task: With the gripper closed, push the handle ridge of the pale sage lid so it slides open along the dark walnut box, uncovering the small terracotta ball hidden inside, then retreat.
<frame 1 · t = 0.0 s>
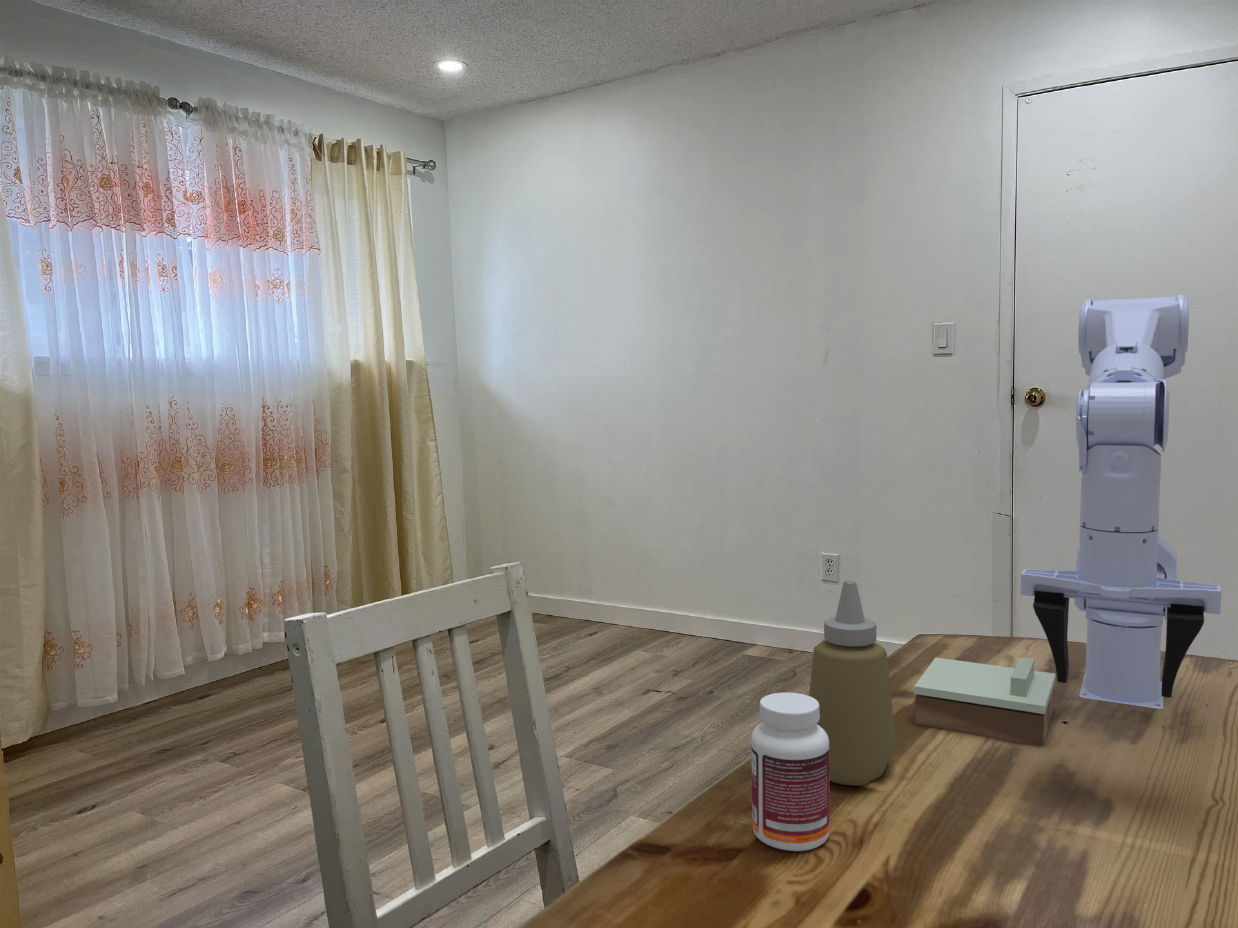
hand: (1113, 686, 77), 10 cm above the table, fingers open, 7 cm apart
walnut box: (985, 723, 95), on the table
pill bottle: (790, 836, 74), on the table
lid: (985, 675, 94), point 5 cm above the table, slide at 0.0 cm
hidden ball: (1011, 722, 94), point 1 cm above the table, touching walnut box
squeeze bottle: (849, 775, 84), on the table
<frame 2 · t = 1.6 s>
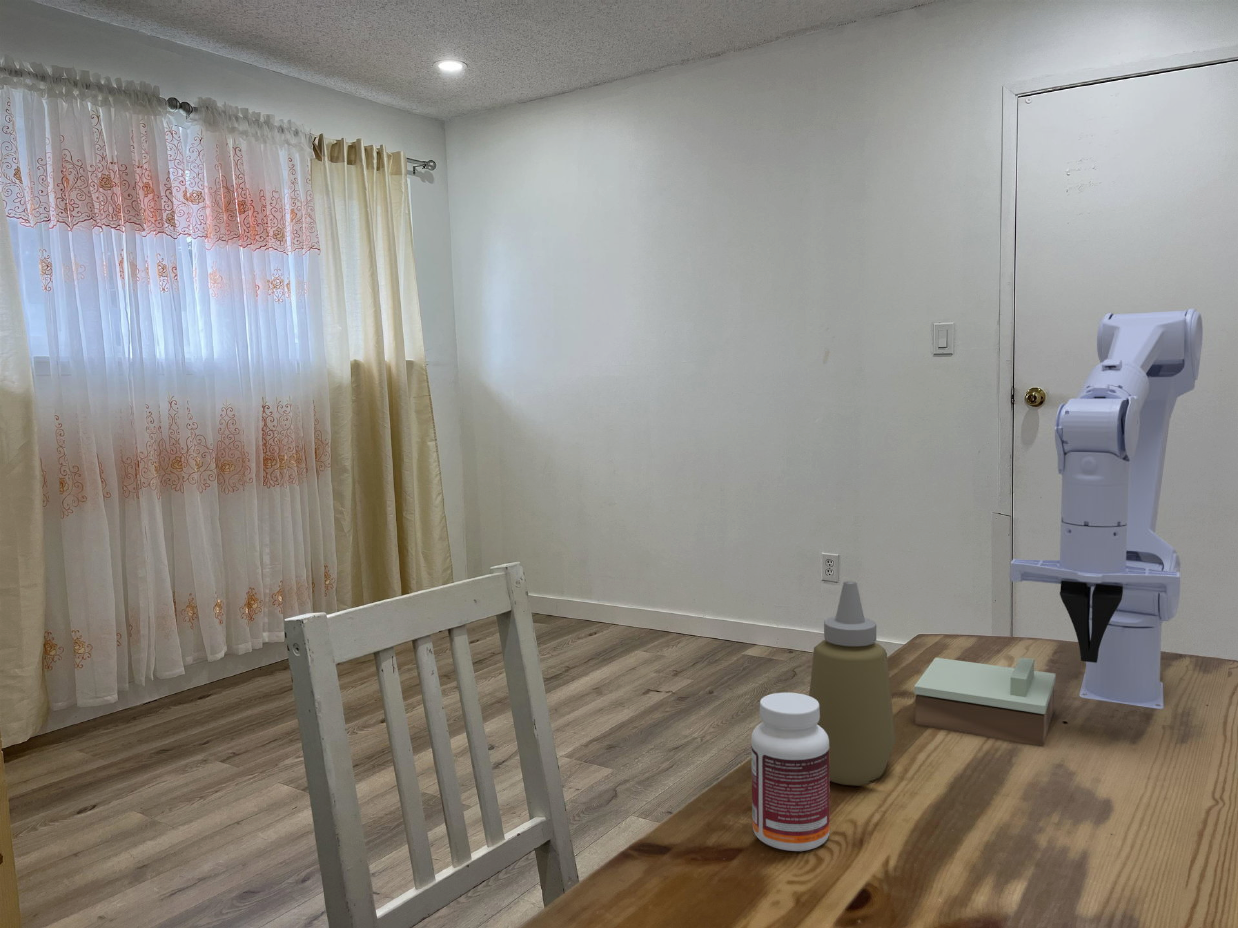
hand: (1089, 659, 89), 8 cm above the table, fingers closed
nothing on the table moved.
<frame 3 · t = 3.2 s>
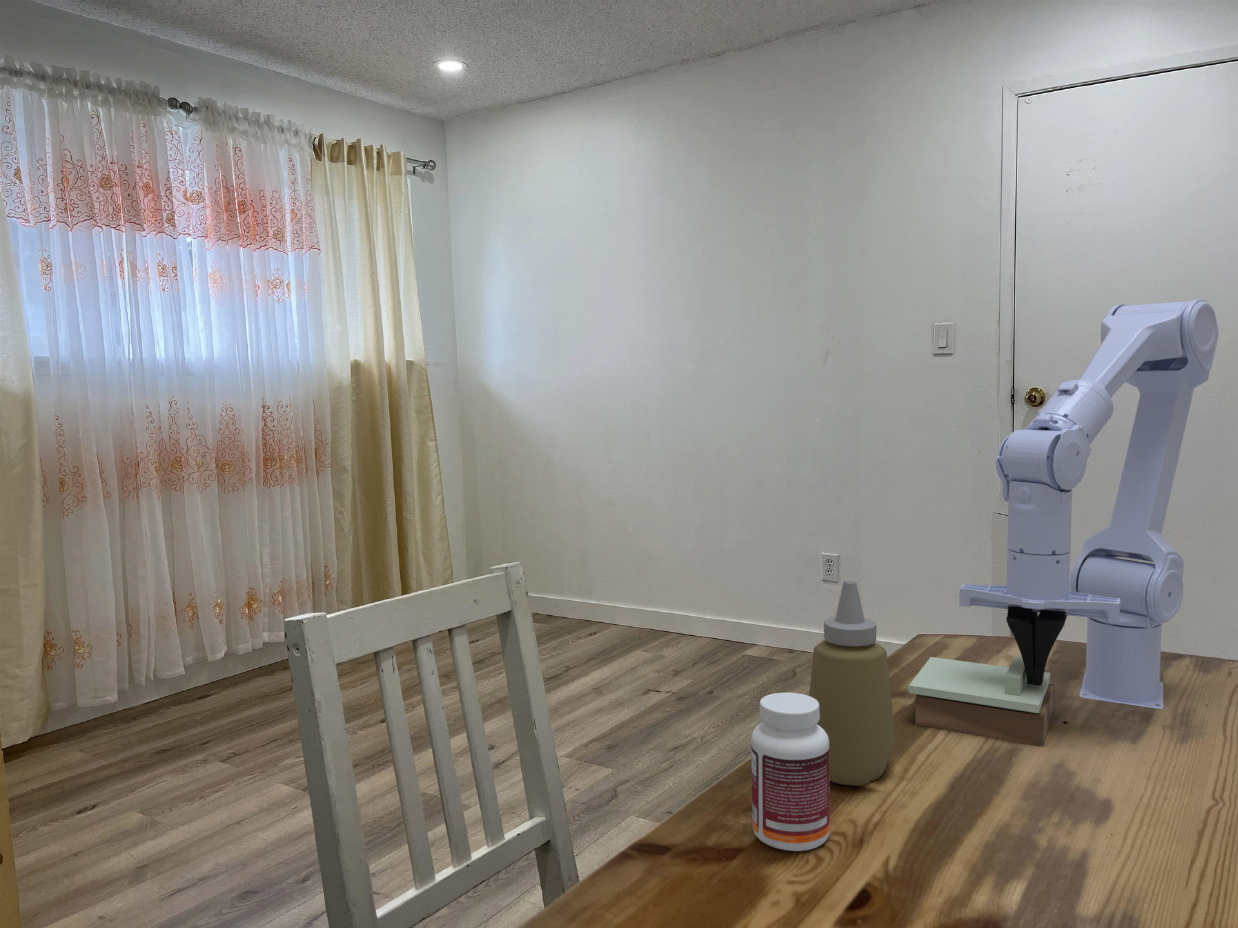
hand: (1035, 681, 92), 5 cm above the table, fingers closed
lid: (980, 674, 95), point 5 cm above the table, slide at 0.5 cm, touching gripper
everything else where it was.
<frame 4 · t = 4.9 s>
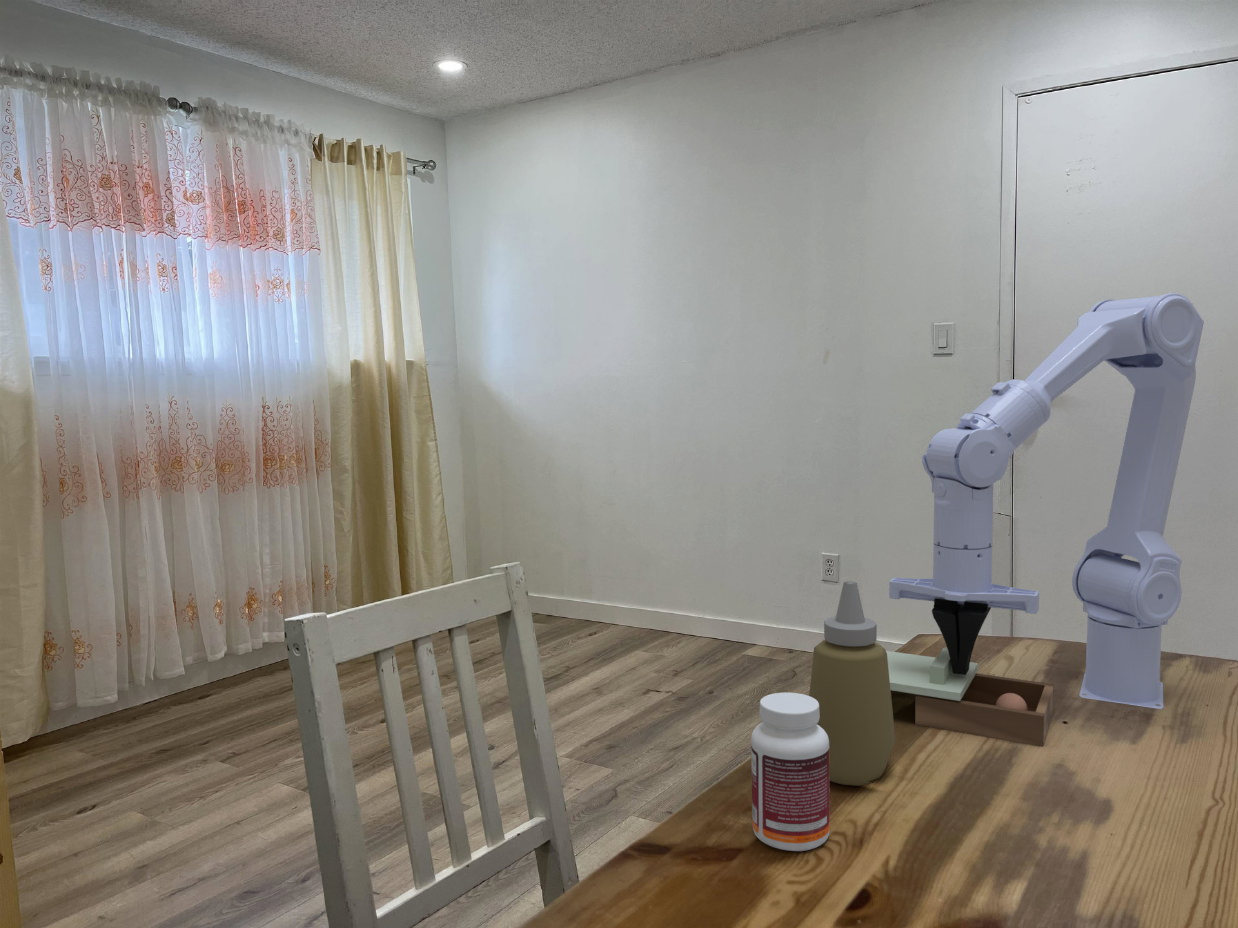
hand: (960, 671, 96), 5 cm above the table, fingers closed
lid: (910, 664, 98), point 5 cm above the table, slide at 7.7 cm, touching gripper
everything else where it was.
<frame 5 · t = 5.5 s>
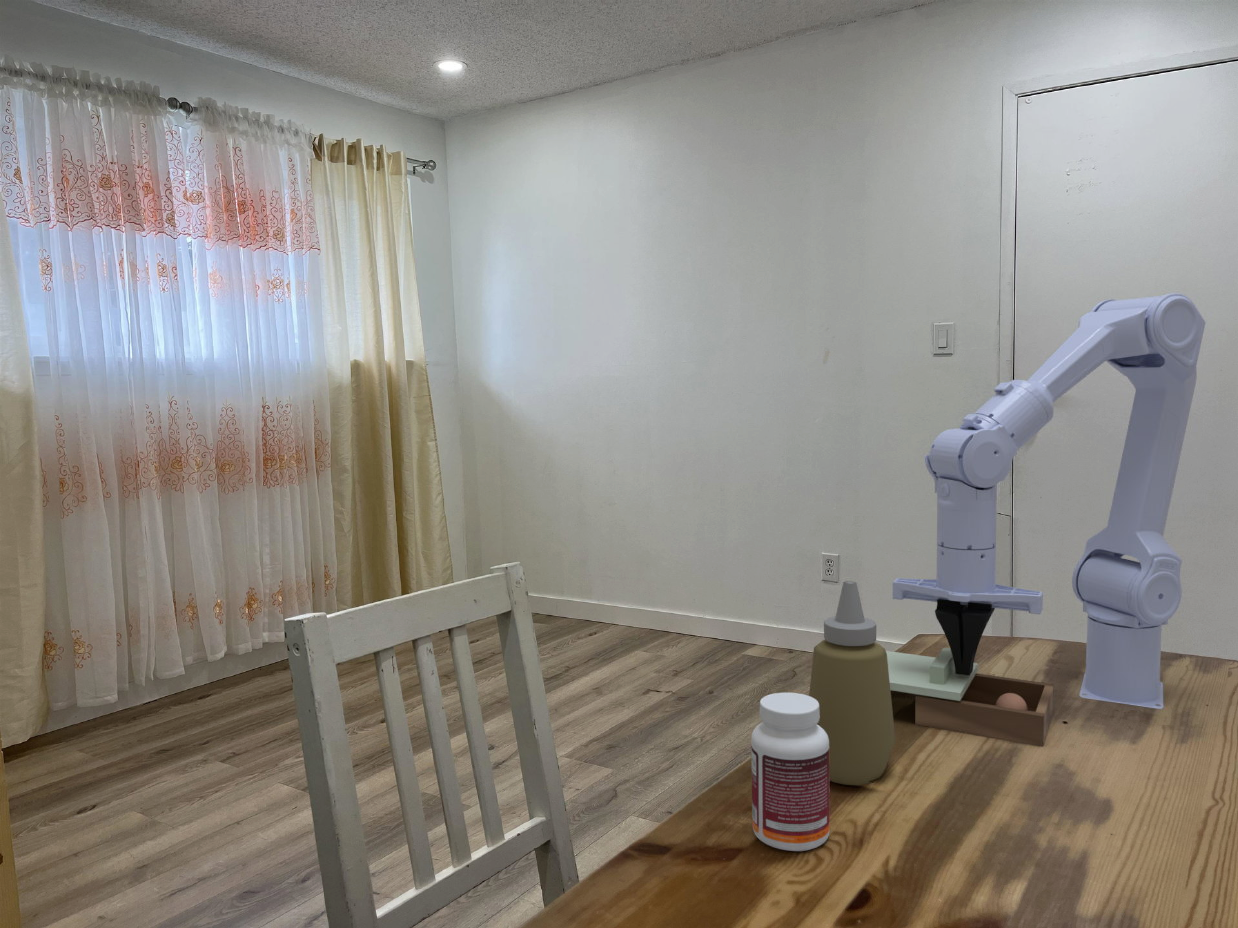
hand: (964, 672, 96), 5 cm above the table, fingers closed
lid: (910, 664, 98), point 5 cm above the table, slide at 7.7 cm
everything else where it was.
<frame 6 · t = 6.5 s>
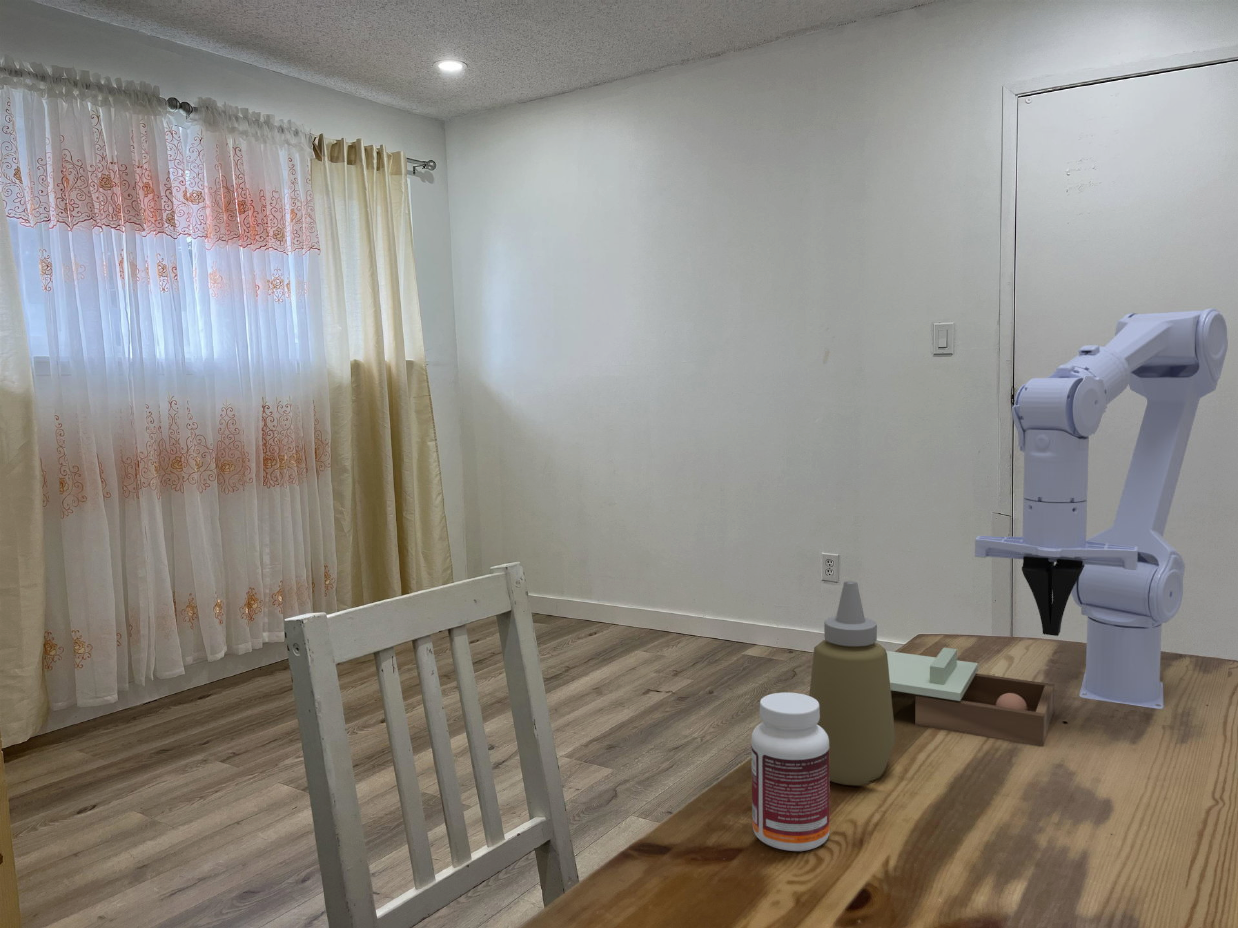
hand: (1051, 632, 91), 10 cm above the table, fingers closed
nothing on the table moved.
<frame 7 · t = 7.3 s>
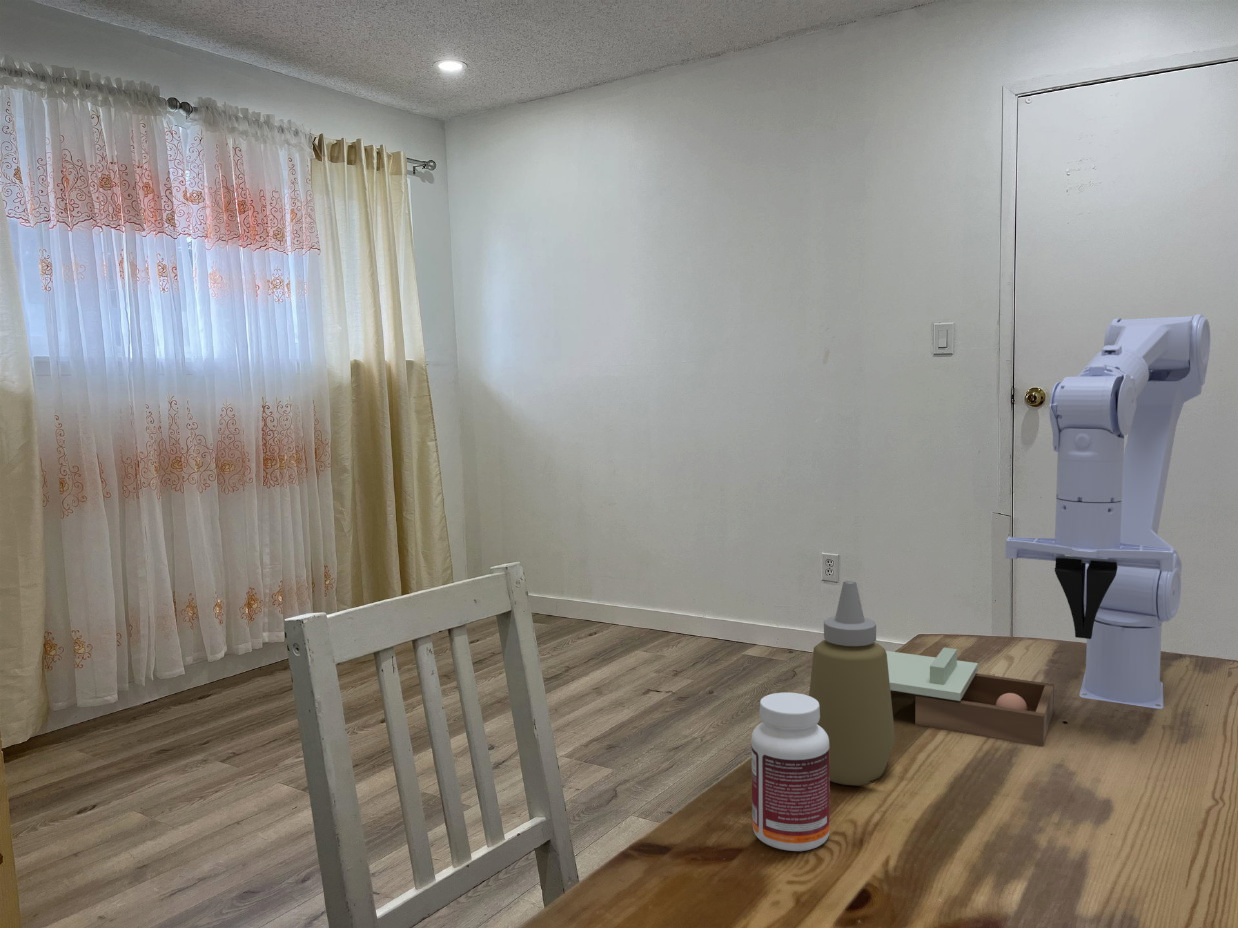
hand: (1083, 635, 90), 10 cm above the table, fingers closed
nothing on the table moved.
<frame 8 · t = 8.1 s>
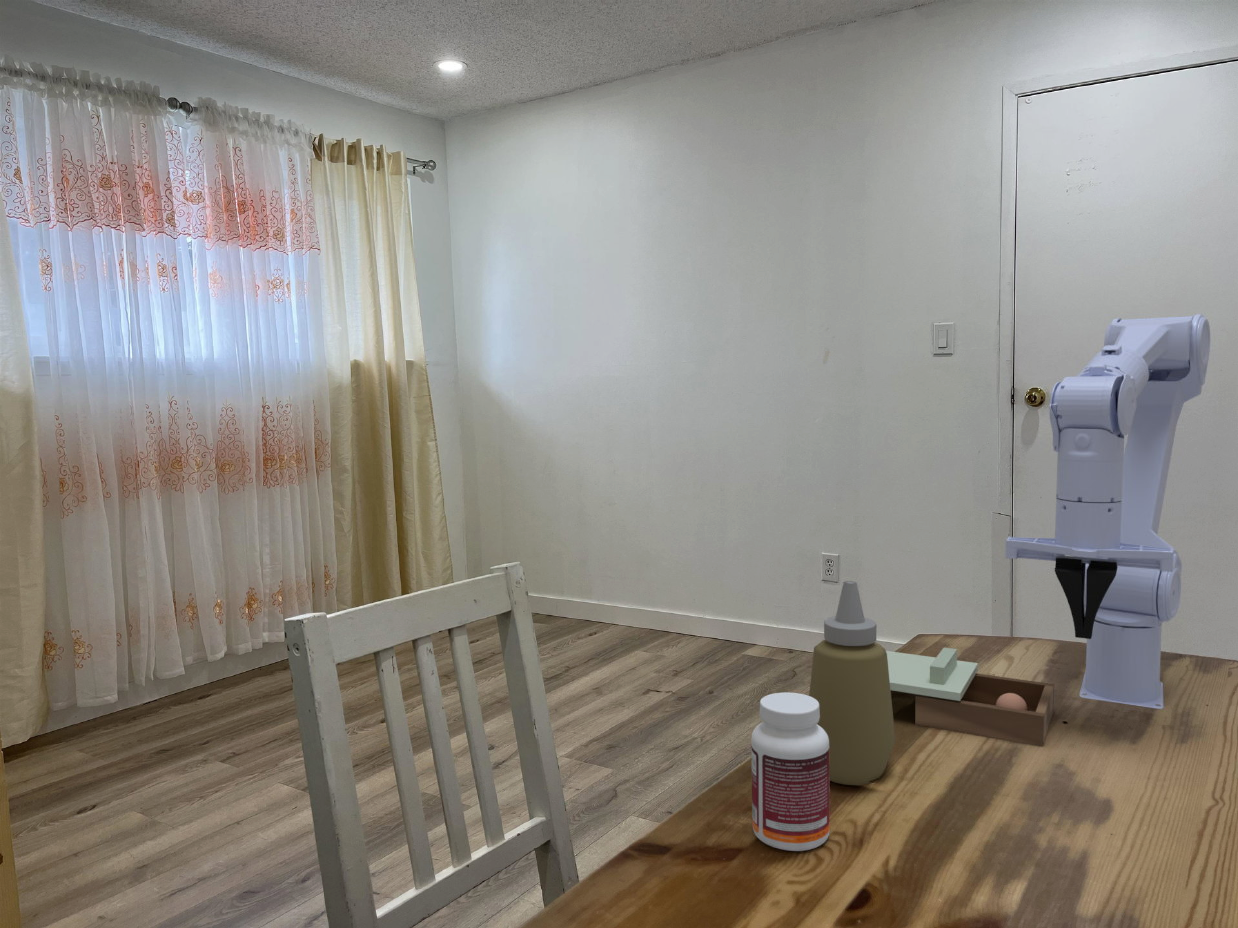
hand: (1083, 635, 90), 10 cm above the table, fingers closed
nothing on the table moved.
at the end: lid slide at 7.7 cm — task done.
